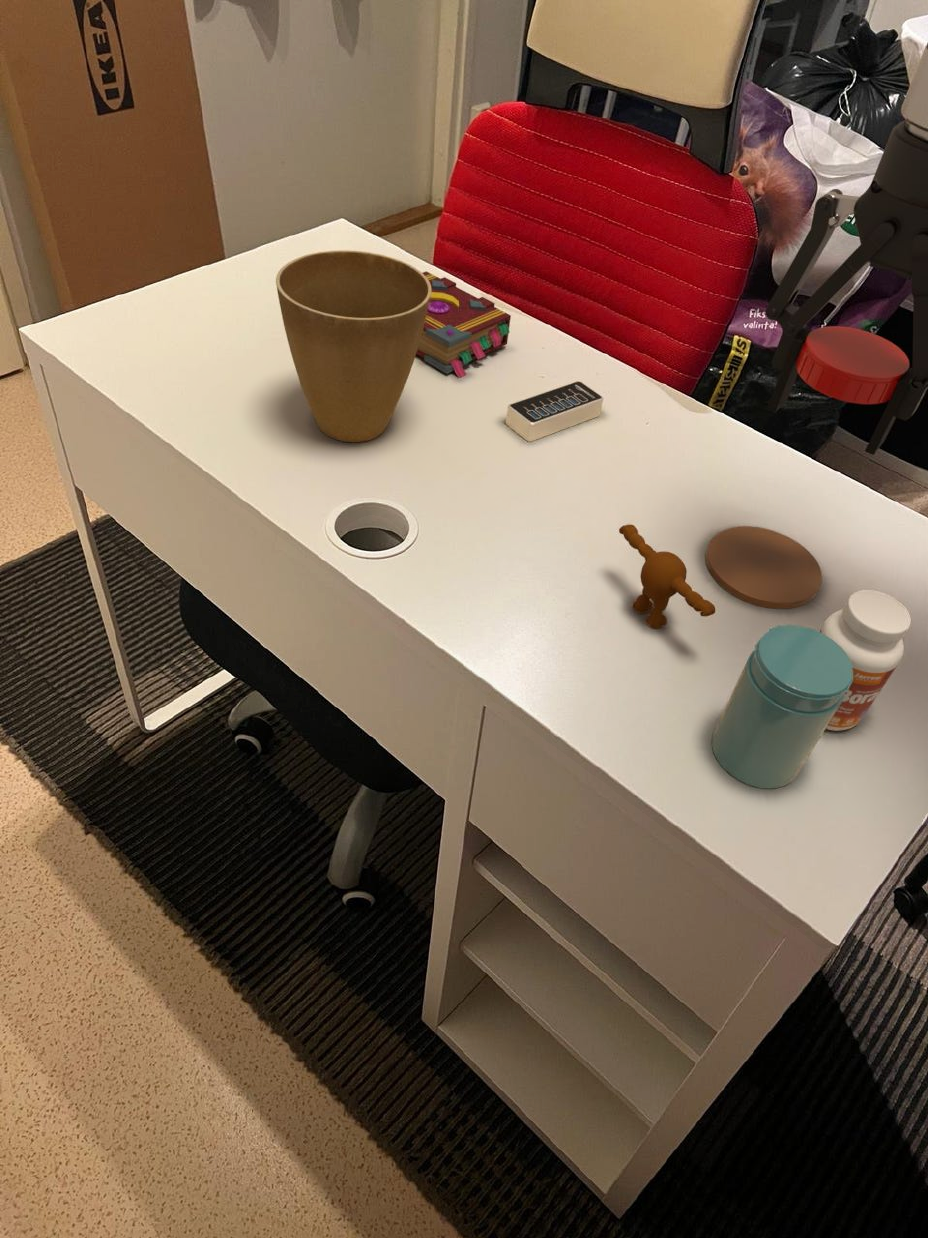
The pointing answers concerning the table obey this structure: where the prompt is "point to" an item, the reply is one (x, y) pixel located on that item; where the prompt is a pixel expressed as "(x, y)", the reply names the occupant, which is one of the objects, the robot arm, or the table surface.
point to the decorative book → (459, 327)
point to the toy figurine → (662, 581)
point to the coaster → (763, 567)
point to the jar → (781, 705)
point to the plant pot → (352, 335)
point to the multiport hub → (553, 410)
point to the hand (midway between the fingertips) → (824, 424)
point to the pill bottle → (867, 649)
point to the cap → (851, 364)
